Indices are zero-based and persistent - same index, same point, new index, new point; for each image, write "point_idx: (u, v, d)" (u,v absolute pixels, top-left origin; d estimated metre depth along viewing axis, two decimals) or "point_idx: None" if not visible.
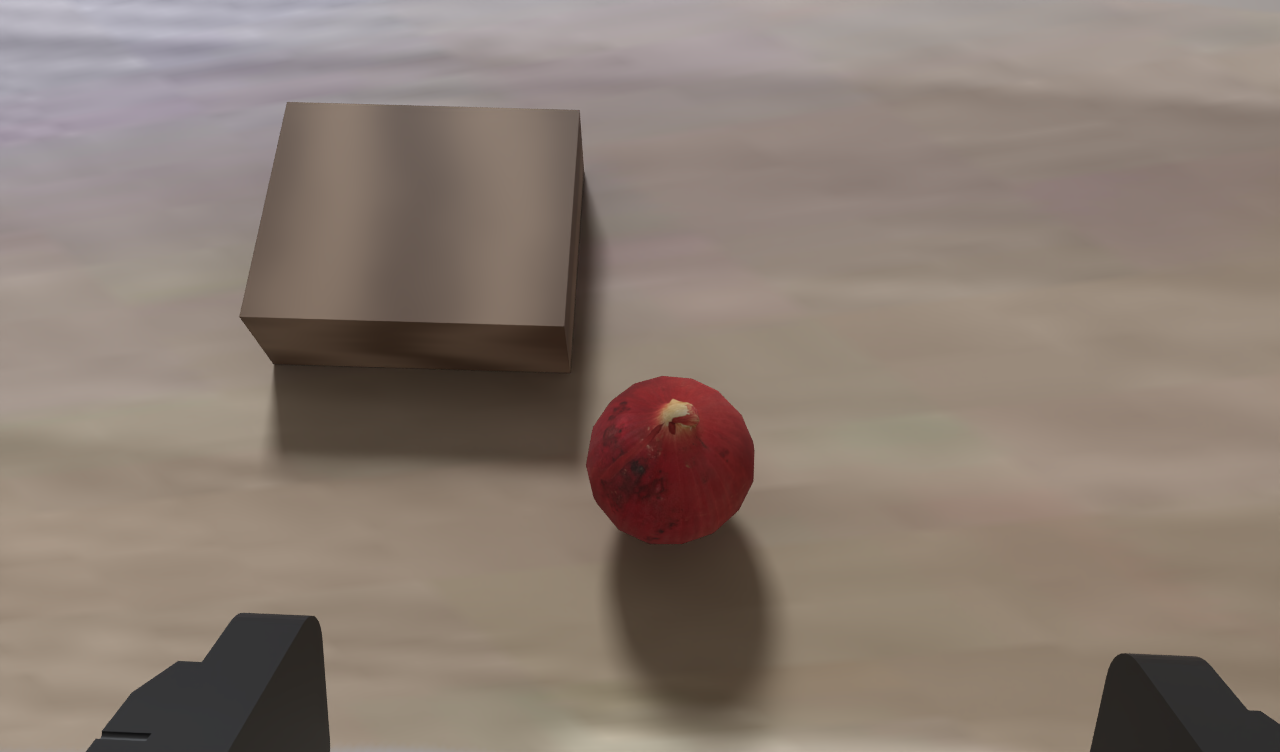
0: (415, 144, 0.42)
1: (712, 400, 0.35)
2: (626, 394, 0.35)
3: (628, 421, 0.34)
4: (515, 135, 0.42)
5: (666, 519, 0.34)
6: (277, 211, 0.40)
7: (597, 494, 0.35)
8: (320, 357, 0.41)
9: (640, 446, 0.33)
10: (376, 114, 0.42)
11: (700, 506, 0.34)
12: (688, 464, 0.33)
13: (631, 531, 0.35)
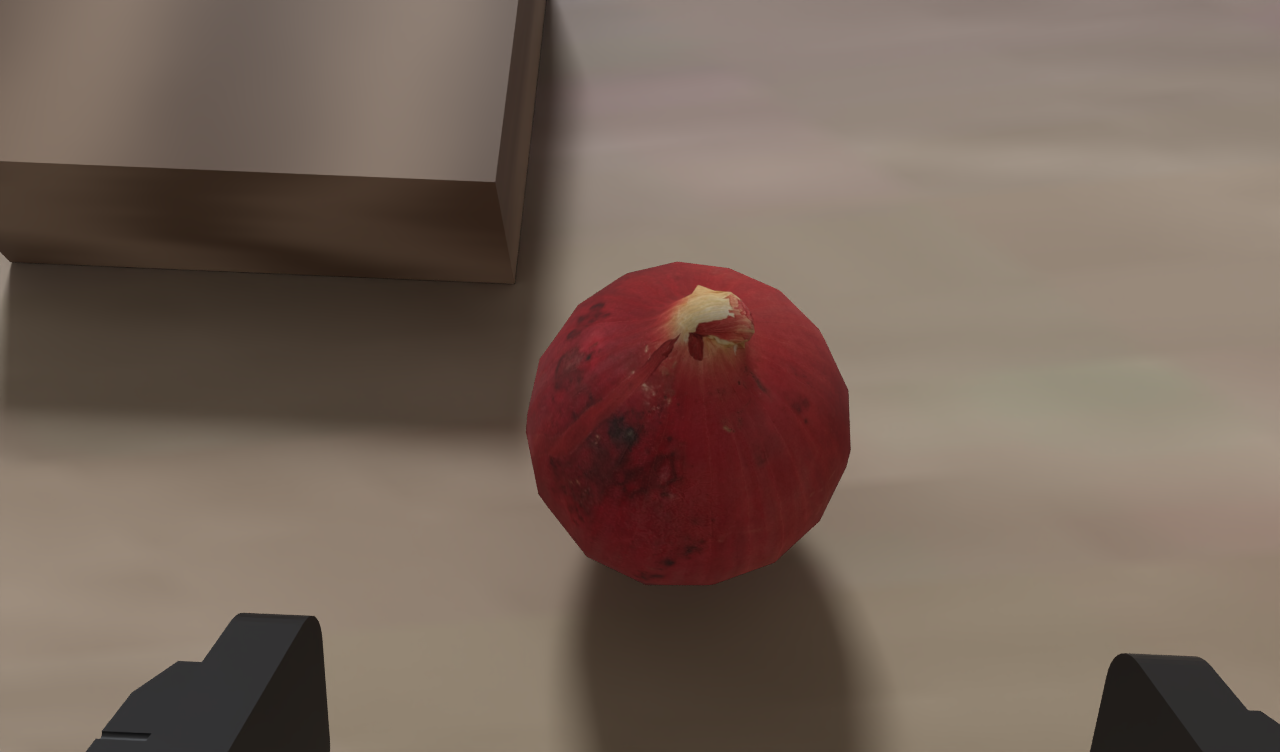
0: None
1: (774, 302, 0.17)
2: (604, 291, 0.18)
3: (606, 337, 0.17)
4: None
5: (679, 540, 0.17)
6: None
7: (544, 487, 0.18)
8: (83, 248, 0.24)
9: (627, 387, 0.16)
10: None
11: (750, 513, 0.17)
12: (728, 426, 0.16)
13: (610, 561, 0.18)
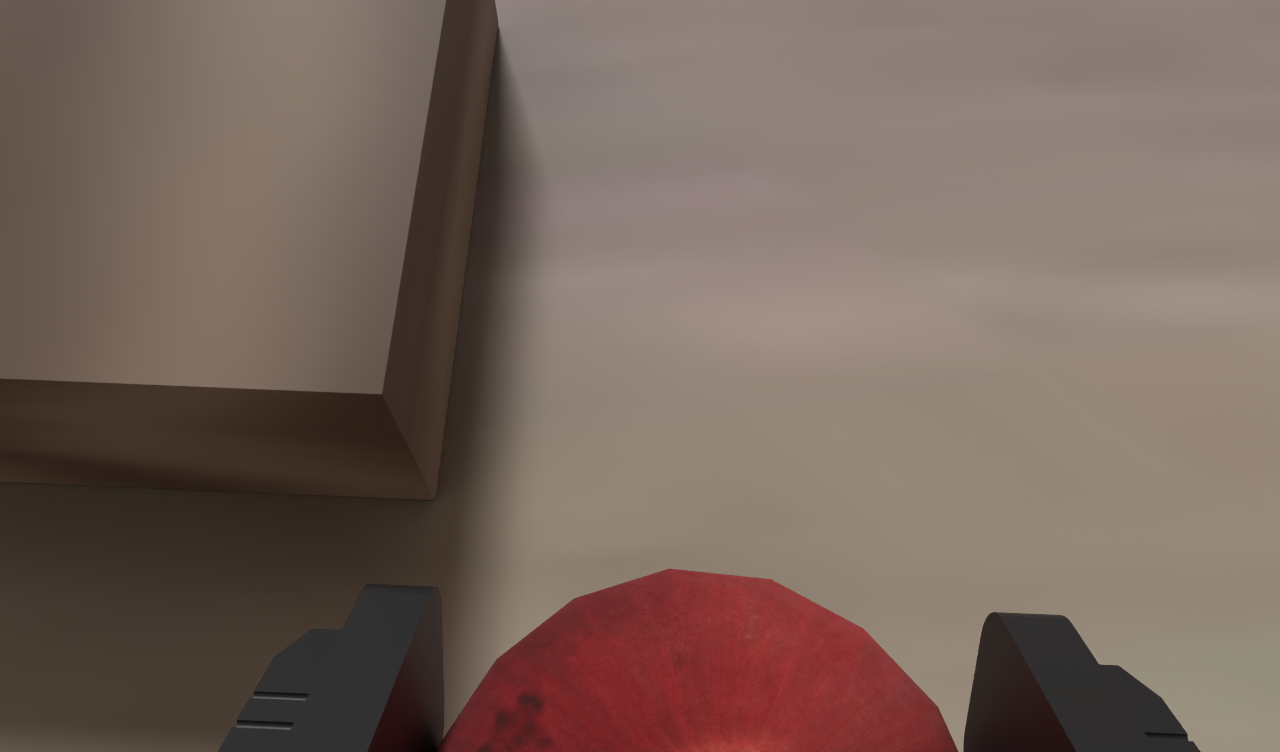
0: None
1: (863, 699, 0.09)
2: (545, 657, 0.10)
3: None
4: None
5: None
6: None
7: None
8: None
9: None
10: None
11: None
12: None
13: None
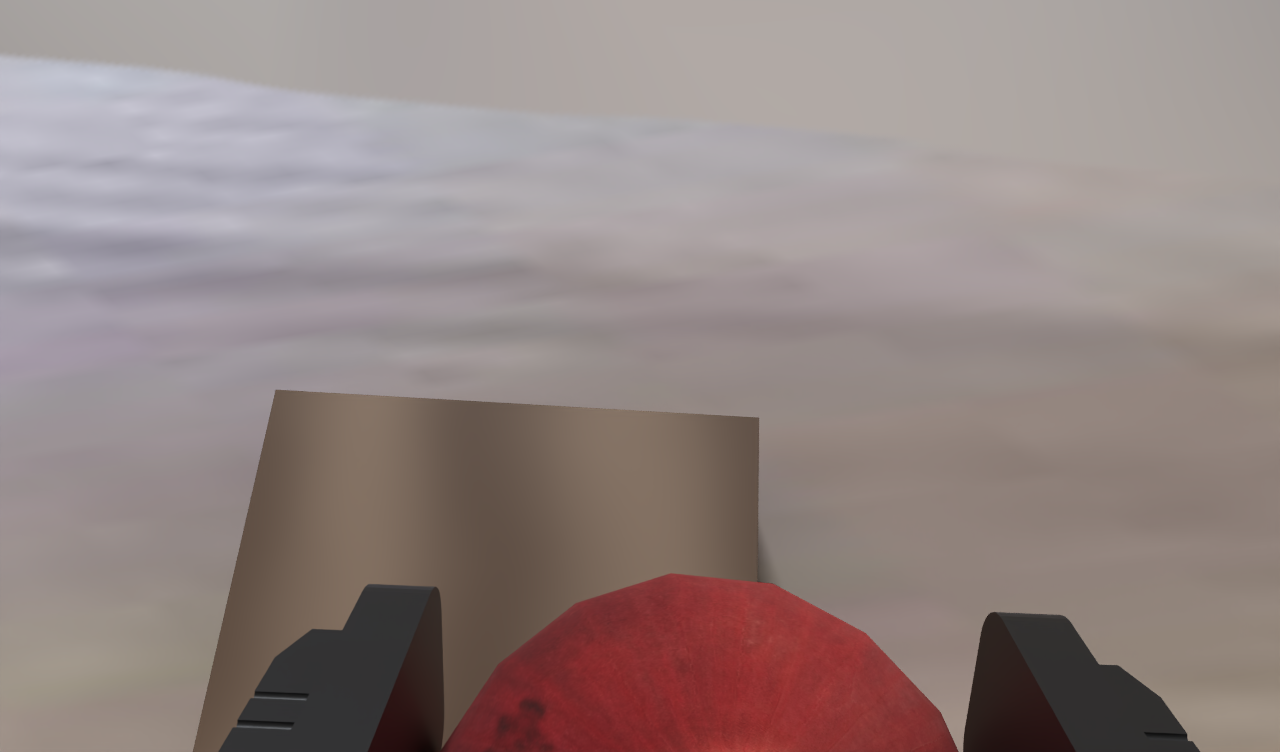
0: (487, 478, 0.25)
1: (864, 705, 0.09)
2: (547, 662, 0.10)
3: None
4: (654, 462, 0.25)
5: None
6: (251, 605, 0.24)
7: None
8: None
9: None
10: (422, 417, 0.26)
11: None
12: None
13: None
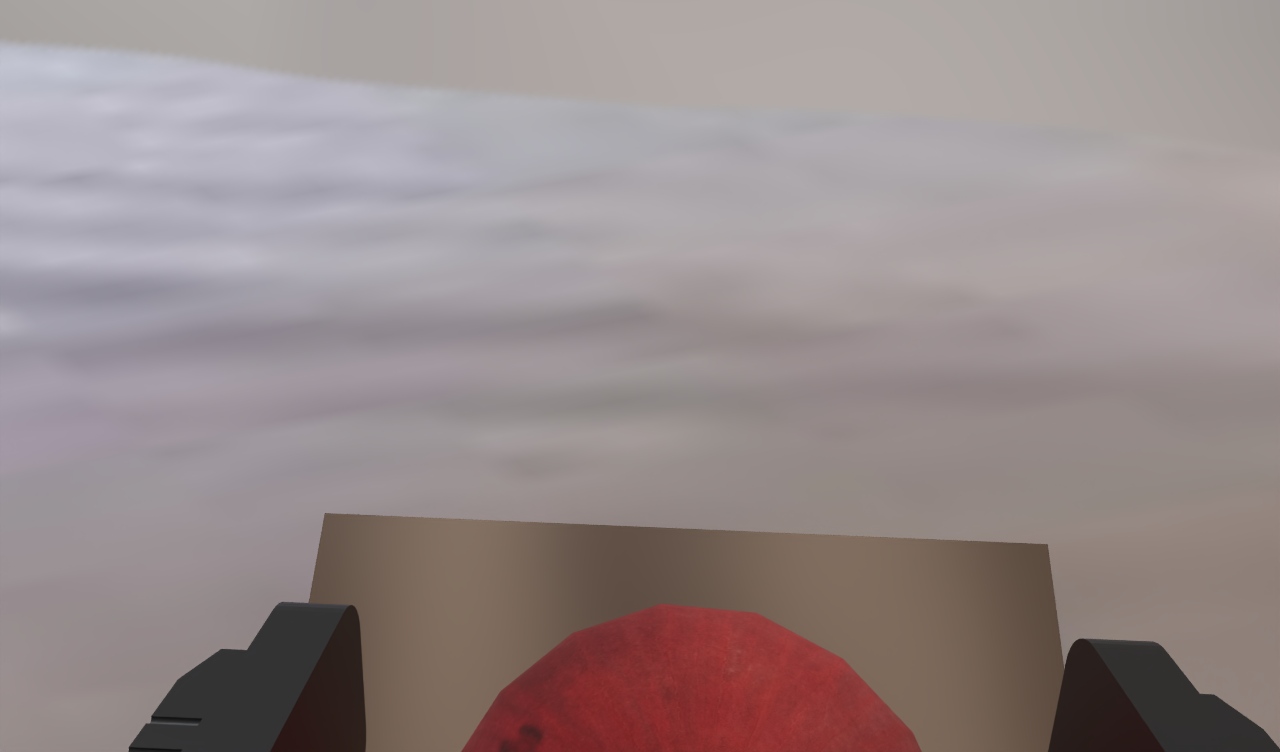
0: None
1: (837, 728, 0.10)
2: (545, 690, 0.11)
3: None
4: (901, 618, 0.17)
5: None
6: None
7: None
8: None
9: None
10: (547, 552, 0.17)
11: None
12: None
13: None
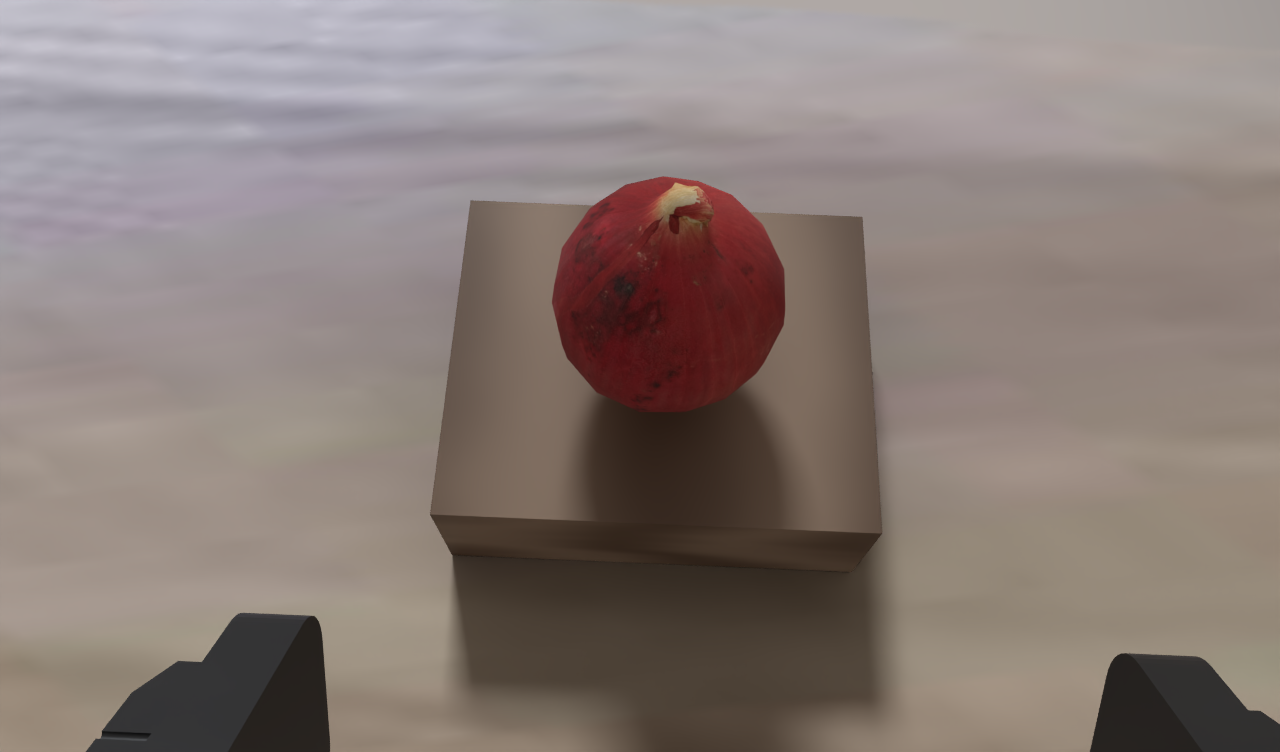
0: None
1: (729, 202, 0.25)
2: (608, 196, 0.25)
3: (611, 223, 0.24)
4: (781, 251, 0.31)
5: (663, 366, 0.24)
6: (470, 357, 0.30)
7: (566, 337, 0.25)
8: (520, 551, 0.31)
9: (627, 255, 0.23)
10: None
11: (712, 345, 0.24)
12: (696, 281, 0.23)
13: (614, 389, 0.25)
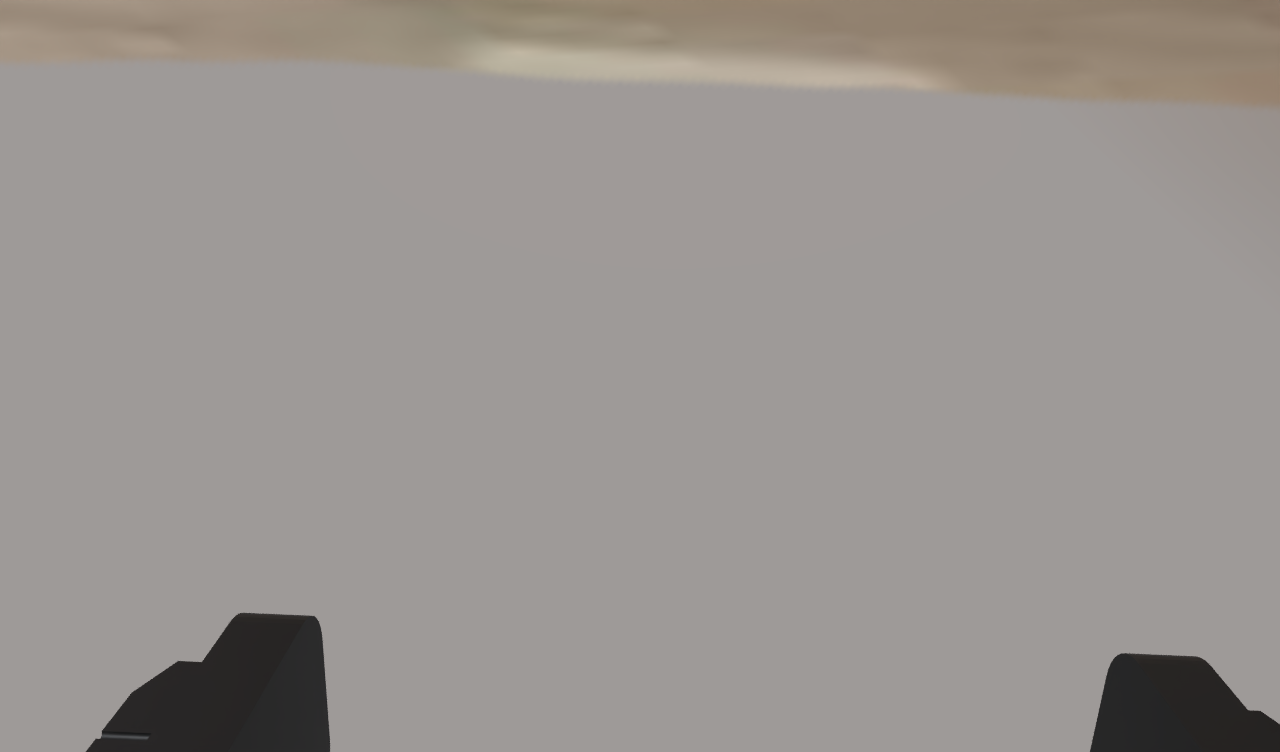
0: None
1: None
2: None
3: None
4: None
5: None
6: None
7: None
8: None
9: None
10: None
11: None
12: None
13: None
